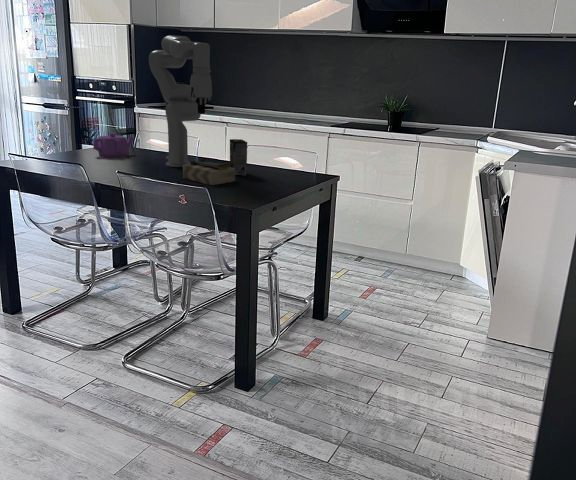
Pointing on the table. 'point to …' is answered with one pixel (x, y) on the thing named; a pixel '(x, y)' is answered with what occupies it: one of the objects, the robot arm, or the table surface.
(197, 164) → the bar
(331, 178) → the table surface
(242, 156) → the coffee box
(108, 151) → the teakettle
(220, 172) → the block
